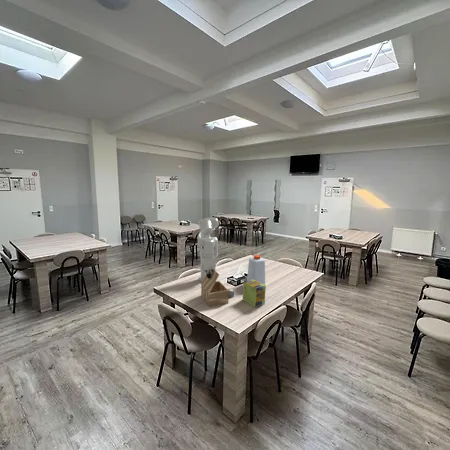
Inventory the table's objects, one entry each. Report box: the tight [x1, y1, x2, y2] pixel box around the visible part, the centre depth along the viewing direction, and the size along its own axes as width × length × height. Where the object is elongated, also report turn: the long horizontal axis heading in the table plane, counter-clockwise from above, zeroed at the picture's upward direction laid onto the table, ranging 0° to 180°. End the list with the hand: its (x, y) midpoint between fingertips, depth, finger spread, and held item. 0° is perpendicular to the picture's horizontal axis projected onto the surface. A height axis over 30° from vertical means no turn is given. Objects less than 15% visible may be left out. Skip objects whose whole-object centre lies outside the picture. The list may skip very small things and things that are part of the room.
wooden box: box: [200, 280, 229, 307], centre depth 194 cm, size 20×16×11 cm
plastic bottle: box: [246, 254, 266, 285], centre depth 223 cm, size 15×15×28 cm
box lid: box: [200, 269, 220, 293], centre depth 190 cm, size 20×16×1 cm
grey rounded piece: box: [227, 288, 236, 298], centre depth 201 cm, size 6×6×5 cm
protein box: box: [242, 279, 266, 308], centre depth 191 cm, size 10×15×16 cm
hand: (208, 277), depth 190 cm, fingers closed
